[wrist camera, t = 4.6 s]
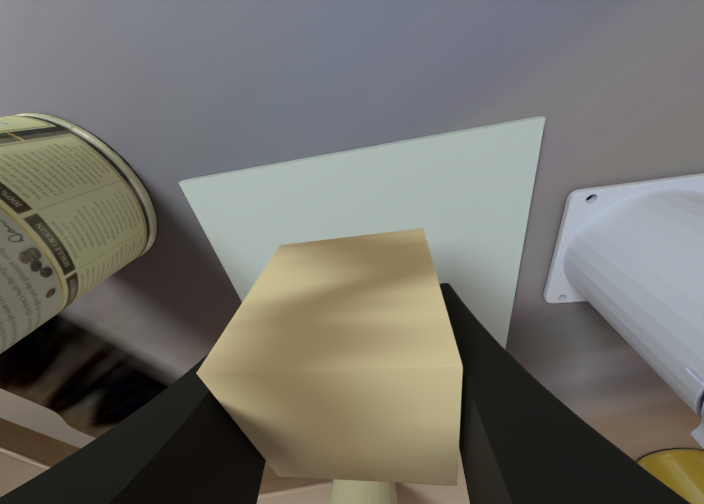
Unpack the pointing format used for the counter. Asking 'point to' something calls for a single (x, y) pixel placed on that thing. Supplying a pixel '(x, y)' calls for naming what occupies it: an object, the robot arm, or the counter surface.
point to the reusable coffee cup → (363, 492)
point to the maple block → (345, 363)
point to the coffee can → (62, 219)
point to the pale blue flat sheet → (389, 207)
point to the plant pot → (678, 471)
